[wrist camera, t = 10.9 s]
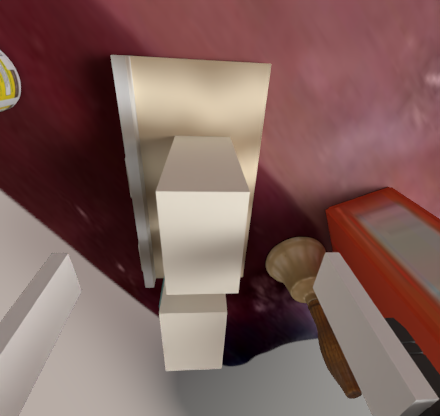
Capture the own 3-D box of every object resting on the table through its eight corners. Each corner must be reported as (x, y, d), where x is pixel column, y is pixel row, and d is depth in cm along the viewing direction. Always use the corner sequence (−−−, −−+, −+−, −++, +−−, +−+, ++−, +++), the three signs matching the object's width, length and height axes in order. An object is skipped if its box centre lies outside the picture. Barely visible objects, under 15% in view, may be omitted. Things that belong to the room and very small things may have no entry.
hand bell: (302, 287, 37) (360, 420, 23) (254, 272, 35) (288, 409, 21) (337, 247, 33) (432, 377, 20) (286, 227, 31) (353, 359, 17)
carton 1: (171, 135, 22) (149, 191, 13) (230, 137, 23) (249, 192, 13) (176, 211, 26) (162, 295, 17) (225, 211, 27) (238, 293, 17)
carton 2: (170, 226, 27) (154, 313, 18) (218, 226, 28) (227, 312, 18) (174, 277, 32) (162, 371, 22) (215, 277, 32) (221, 368, 23)
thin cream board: (119, 55, 21) (105, 54, 18) (265, 63, 22) (276, 64, 19) (147, 266, 33) (142, 287, 30) (240, 266, 34) (244, 286, 31)
